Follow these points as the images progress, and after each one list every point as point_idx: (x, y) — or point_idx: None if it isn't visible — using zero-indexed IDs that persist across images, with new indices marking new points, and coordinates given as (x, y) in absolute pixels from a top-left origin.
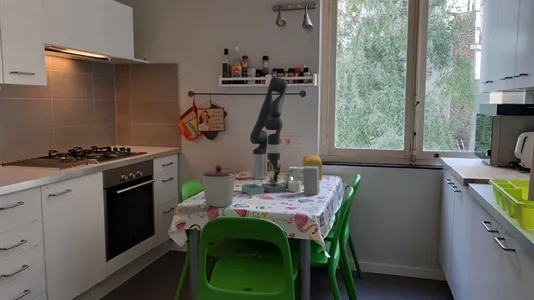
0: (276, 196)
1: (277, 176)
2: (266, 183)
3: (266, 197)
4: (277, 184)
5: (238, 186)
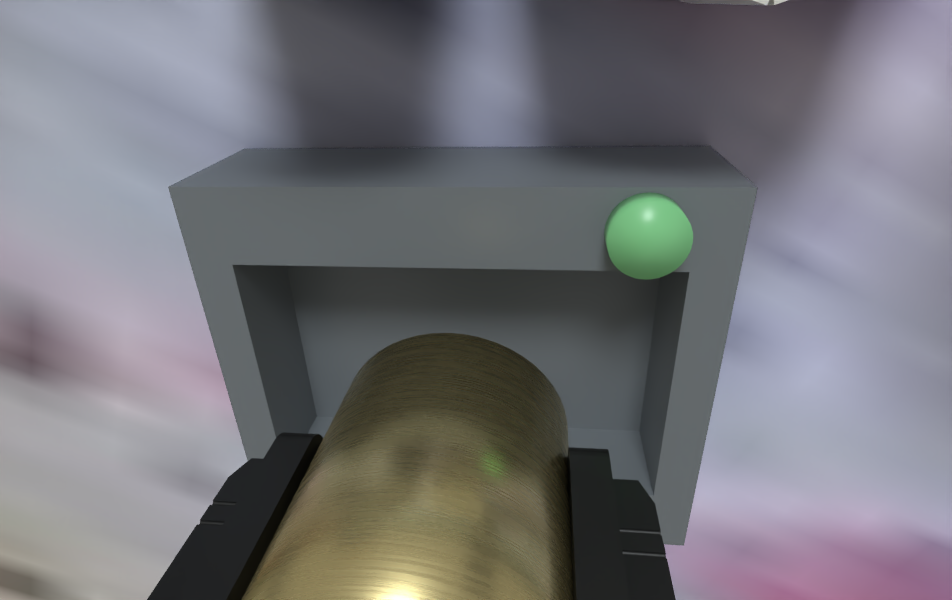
0: (945, 464)
1: (622, 562)
2: (247, 433)
3: (883, 593)
4: (420, 265)
5: (38, 581)
